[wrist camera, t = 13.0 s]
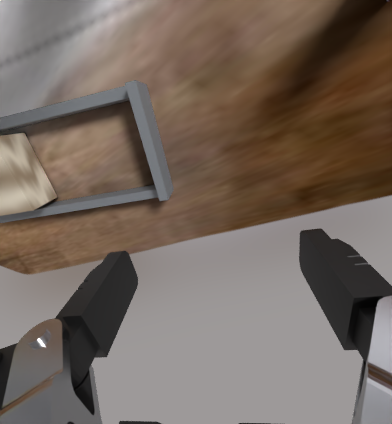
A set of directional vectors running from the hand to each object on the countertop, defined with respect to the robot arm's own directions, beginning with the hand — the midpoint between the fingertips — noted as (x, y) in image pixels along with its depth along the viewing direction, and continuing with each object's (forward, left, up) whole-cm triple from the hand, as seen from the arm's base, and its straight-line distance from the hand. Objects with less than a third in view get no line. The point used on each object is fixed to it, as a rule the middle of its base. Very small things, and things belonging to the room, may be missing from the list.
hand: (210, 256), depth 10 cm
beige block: (-3, -36, -28) cm, 46 cm away
